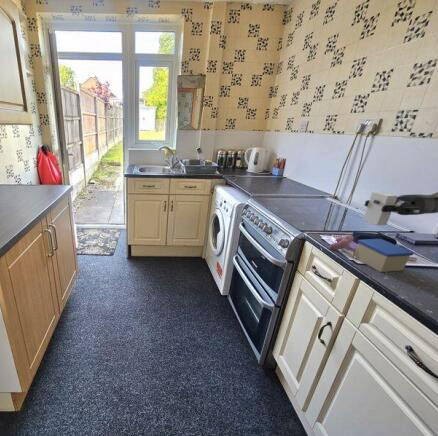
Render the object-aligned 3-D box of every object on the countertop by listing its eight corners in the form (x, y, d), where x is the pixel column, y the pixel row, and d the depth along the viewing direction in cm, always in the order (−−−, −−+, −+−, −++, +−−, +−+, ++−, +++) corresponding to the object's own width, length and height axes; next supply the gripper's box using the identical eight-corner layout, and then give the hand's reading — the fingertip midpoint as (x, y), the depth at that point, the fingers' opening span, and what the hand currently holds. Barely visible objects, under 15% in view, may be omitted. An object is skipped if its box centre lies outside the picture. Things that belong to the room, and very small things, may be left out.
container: (404, 270, 83) (413, 252, 81) (380, 272, 82) (388, 254, 79) (373, 255, 93) (380, 238, 90) (351, 256, 92) (357, 239, 89)
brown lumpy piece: (338, 255, 95) (353, 244, 90) (327, 247, 97) (341, 235, 93) (344, 248, 101) (359, 237, 97) (334, 240, 103) (348, 229, 99)
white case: (386, 225, 89) (398, 195, 85) (375, 225, 88) (386, 196, 84) (371, 219, 94) (381, 191, 90) (361, 220, 93) (371, 191, 89)
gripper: (396, 189, 96) (358, 190, 93) (442, 200, 83) (400, 202, 80) (389, 208, 98) (352, 209, 96) (432, 221, 85) (391, 223, 83)
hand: (374, 206), depth 88 cm, fingers closed on white case, 5 cm apart
